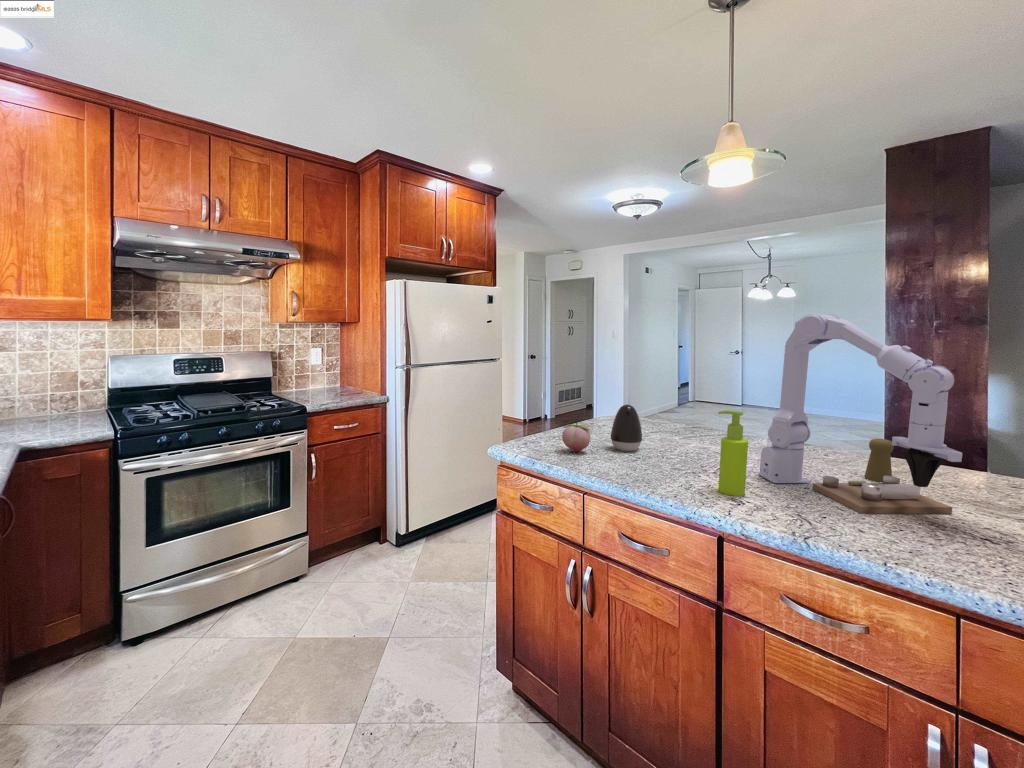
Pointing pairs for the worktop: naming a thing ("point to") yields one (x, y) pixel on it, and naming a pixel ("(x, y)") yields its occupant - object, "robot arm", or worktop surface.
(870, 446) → the cork
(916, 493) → the lever handle
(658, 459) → the worktop surface
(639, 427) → the black rounded dome
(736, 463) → the soap dispenser
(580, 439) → the decorative fruit
